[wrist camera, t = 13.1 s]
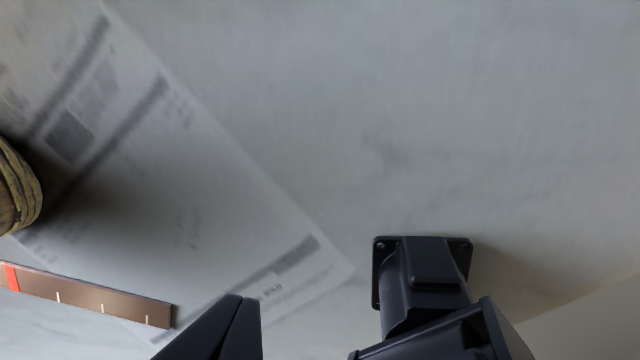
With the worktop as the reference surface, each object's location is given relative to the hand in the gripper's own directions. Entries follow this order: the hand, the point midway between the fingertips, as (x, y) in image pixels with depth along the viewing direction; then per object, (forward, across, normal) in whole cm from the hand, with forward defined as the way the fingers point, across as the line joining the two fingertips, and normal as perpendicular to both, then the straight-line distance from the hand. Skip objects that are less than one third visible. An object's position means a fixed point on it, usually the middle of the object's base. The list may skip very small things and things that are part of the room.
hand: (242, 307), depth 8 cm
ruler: (+13, +19, +19) cm, 29 cm away
